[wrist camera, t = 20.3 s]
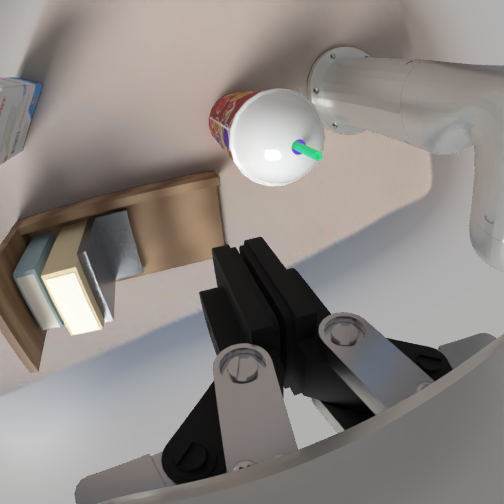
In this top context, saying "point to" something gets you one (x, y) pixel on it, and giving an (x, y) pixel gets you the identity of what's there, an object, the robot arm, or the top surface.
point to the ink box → (16, 114)
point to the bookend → (108, 256)
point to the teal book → (37, 281)
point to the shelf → (145, 233)
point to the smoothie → (269, 134)
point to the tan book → (71, 283)
